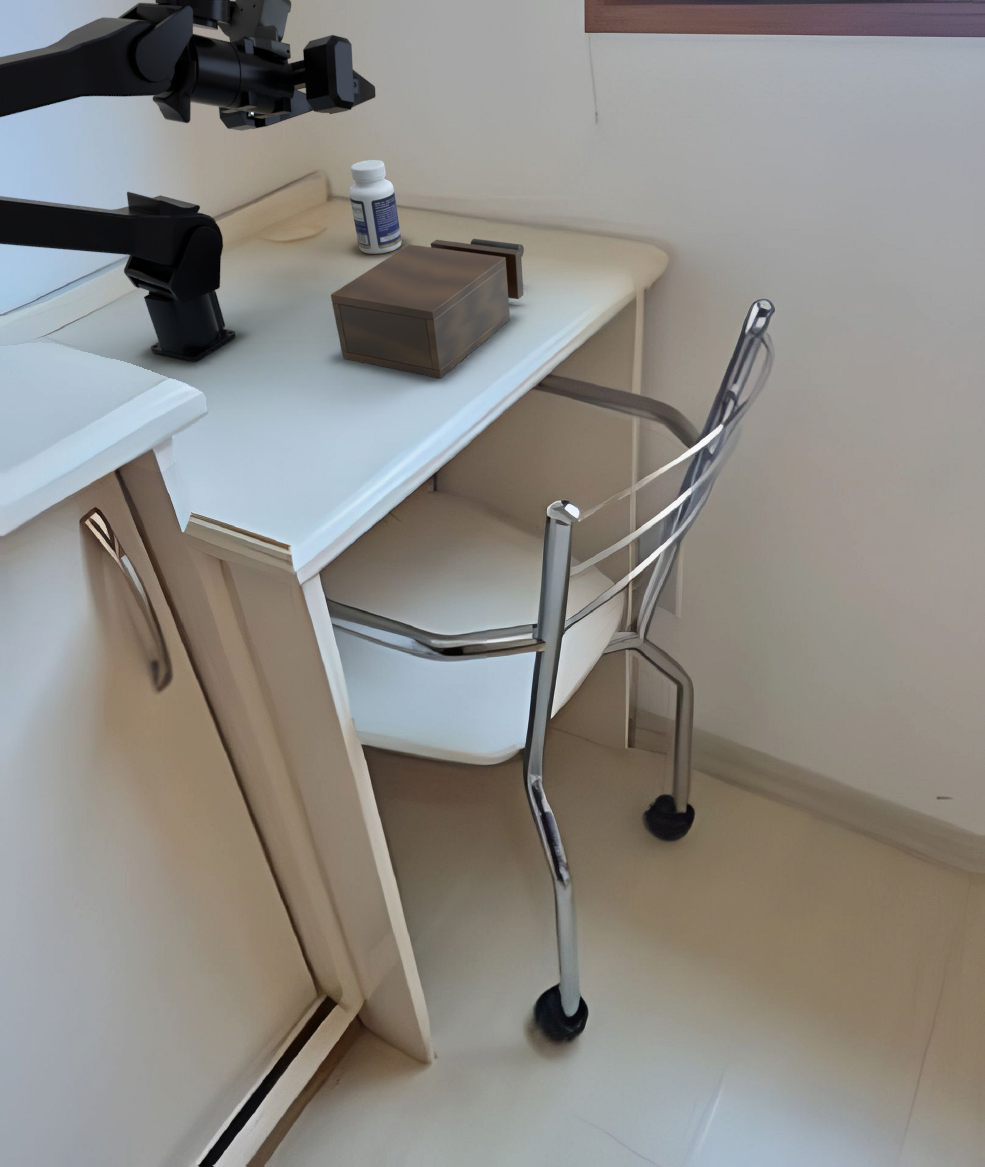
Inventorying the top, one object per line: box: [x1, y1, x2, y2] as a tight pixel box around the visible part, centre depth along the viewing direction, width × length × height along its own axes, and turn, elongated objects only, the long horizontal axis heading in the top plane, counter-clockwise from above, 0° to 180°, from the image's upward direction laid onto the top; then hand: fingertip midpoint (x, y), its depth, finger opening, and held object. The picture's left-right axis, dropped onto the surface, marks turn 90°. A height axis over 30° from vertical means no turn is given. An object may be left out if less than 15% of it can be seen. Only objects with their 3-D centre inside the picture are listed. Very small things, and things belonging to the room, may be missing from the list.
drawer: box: [430, 238, 525, 300], centre depth 97 cm, size 17×10×5 cm, turn 150°
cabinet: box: [330, 244, 511, 379], centre depth 92 cm, size 14×12×7 cm
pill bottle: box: [349, 159, 403, 255], centre depth 113 cm, size 5×5×10 cm
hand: (344, 98), depth 101 cm, fingers open, 9 cm apart
